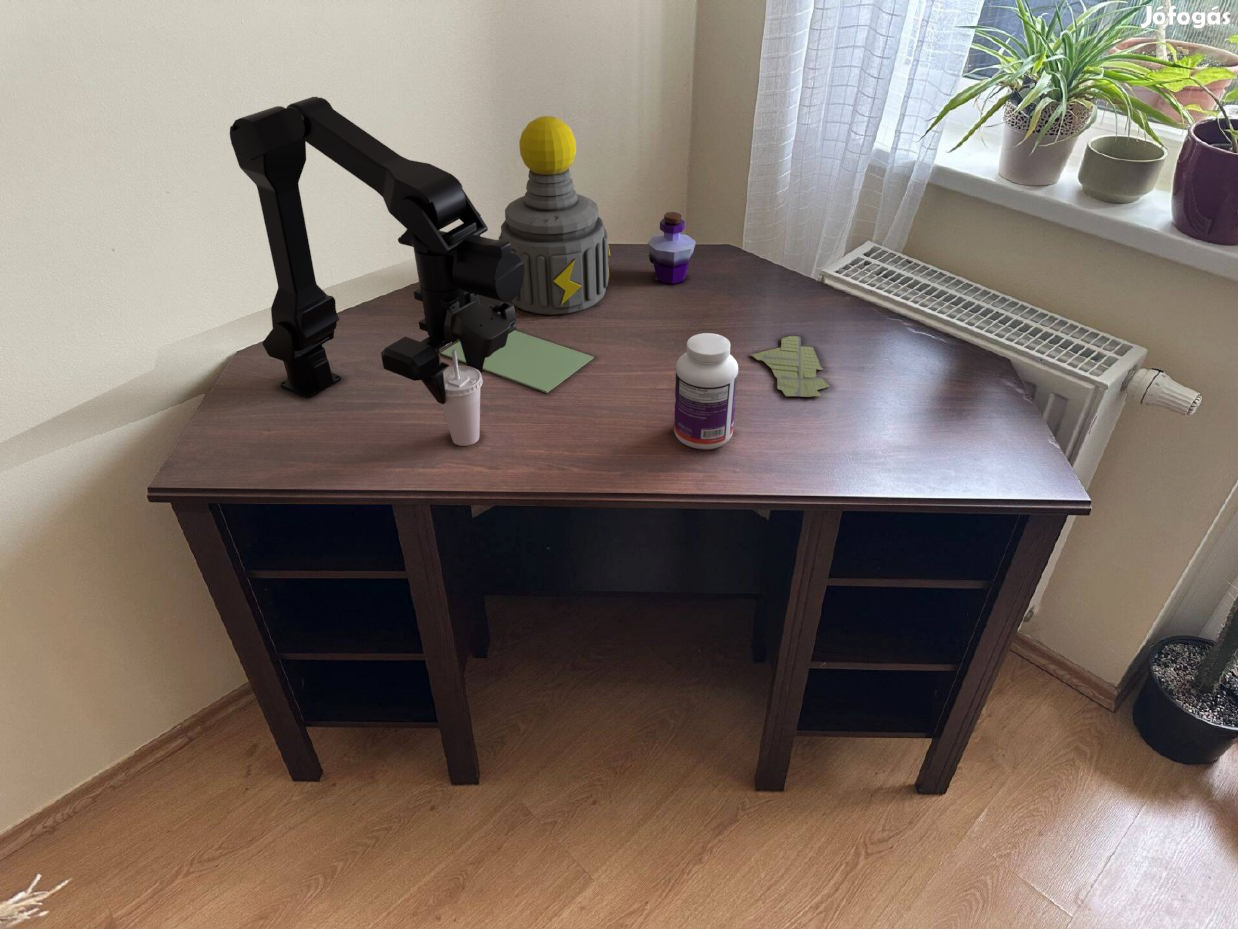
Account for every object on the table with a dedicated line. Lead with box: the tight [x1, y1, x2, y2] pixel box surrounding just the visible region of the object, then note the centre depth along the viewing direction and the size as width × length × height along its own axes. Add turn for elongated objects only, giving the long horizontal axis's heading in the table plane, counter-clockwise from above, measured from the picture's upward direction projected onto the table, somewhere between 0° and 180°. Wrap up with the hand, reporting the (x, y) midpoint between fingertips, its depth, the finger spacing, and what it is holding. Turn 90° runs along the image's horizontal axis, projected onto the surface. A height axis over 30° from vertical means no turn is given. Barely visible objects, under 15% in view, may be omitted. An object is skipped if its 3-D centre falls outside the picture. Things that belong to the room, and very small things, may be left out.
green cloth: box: [440, 330, 595, 394], centre depth 136 cm, size 21×12×1 cm, turn 56°
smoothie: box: [440, 349, 484, 447], centre depth 115 cm, size 6×6×14 cm
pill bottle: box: [673, 332, 739, 450], centre depth 115 cm, size 8×8×14 cm
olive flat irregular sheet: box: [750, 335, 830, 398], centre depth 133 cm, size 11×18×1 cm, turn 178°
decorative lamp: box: [498, 115, 611, 316], centre depth 145 cm, size 19×19×30 cm
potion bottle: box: [647, 211, 697, 286], centre depth 155 cm, size 9×9×12 cm
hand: (459, 391), depth 115 cm, fingers closed on smoothie, 6 cm apart
